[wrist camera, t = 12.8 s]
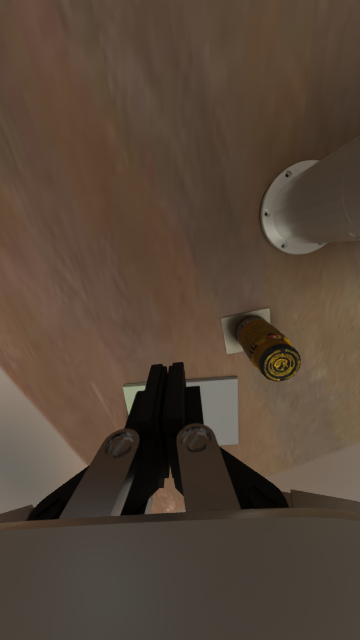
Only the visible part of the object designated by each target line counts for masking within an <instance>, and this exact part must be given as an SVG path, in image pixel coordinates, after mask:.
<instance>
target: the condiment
mask: <svg viewBox="0 0 360 640" xmlns="http://www.w3.org/2000/svg"><path fill="white" fill-rule="evenodd" d="M221 321H222V327H223V333H224V339H225V345H226V351H227V354H232V353H237V352H241V351H245V353H246V354H247V356H248V357H249V359H250V361H251V362H252V364H253V365H254V366H255V367H256V368H257V369H258V370H260V371H261V373H262V374H263V375H264V376H265V377H266V378H267V379H269V380H273V381H284V380H287V379H289V378H291V377H292V376H294V375H295V374H296V373H297V371H298V370H299V368H300V360H301V358H300V355H299V353H298V352H297V351H296V350H295V348H293V346H292V344H291V342H290V341H289V340H288V338H286V337H285V336H284V335H283V334H282V333H280V332H279V331H278V330H277V329H276V328H275V327H273V326H272V325H271V323H270V311H269V308H267V309H262V310H257V311H252V312H247V313H243V314H238V315H233V316H229V317H224V318H221ZM235 341H237V342H235ZM238 342H239V343H238Z"/></svg>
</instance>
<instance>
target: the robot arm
mask: <svg viewBox="0 0 360 640" xmlns="http://www.w3.org/2000/svg"><path fill="white" fill-rule="evenodd" d="M285 175H287V178H286V177H285ZM265 213H267V216H265ZM260 223H261V228H262V231H263V234H264V236H265V237H266V239H267V241H268V242H269V243H270V244H271V245H272V246H273V247H274V248H276V249H277V250H279V251H281V252H283V253H287V254H295V255H299V254H307V253H310V252H313V251H316V250H318V249H320V248H321V247H323V246H324V245H326V244H327V243H330V242H348V241H360V135H358V136H357V137H355V138H354V139H352V140H351V141H349V142H348V143H346V144H344V145H343V146H341V147H340V148H338V149H337V150H335V151H334V152H332V153H331V154H329V155H328V156H326V157H324V158H323V159H321V160H306V161H301V162H298V163H296V164H294V165H291V166H290V167H288V168H287V169H285V170H284V171H283V172H282V173H280V174H279V175H278V176H277V177H276V178H275V179H274V180H273V182H272V183H271V184H270V186H269V187H268V189H267V191H266V193H265V195H264V198H263V200H262V204H261V208H260ZM282 244H283V247H282ZM170 468H171V473H172V478H174V483H175V488H176V489H177V490H178V491H179V492H180V493H181V494H182V495H183V496H184V502H185V509H186V512H180V513H160V514H150V511H151V507H152V501H153V497H152V495H153V494H154V493H155V492H156V491H157V490H158V489H159V488H164V479H165V478H169V471H170ZM0 640H360V502H357V501H353V500H347V499H342V498H336V497H331V496H325V495H319V494H314V493H308V492H303V491H297V490H291V492H290V493H288V492H282V491H280V490H279V489H278V488H277V487H276V486H275V485H274V484H273V483H271V482H270V481H268V480H267V479H265V478H264V477H263V476H261V475H260V474H258V473H257V472H255V471H254V470H253V469H251V468H250V467H248V466H247V465H245V464H244V463H242V462H241V461H240V460H238V459H237V458H235V457H234V456H232V455H231V454H230V453H228V452H227V451H225V450H224V449H222V448H221V447H219V445H218V442H217V439H216V436H215V434H214V432H213V430H212V429H211V428H209V427H208V426H206V425H204V420H203V411H202V402H201V393H200V386H190V387H186V379H185V371H184V364H183V362H177V363H173V366H169V371H168V372H167V367H166V366H164V367H163V365H162V364H156V365H152V366H151V369H150V373H149V376H148V380H147V383H146V387H145V390H143V391H137V393H136V395H135V398H134V401H133V404H132V407H131V410H130V413H129V416H128V419H127V422H126V425H125V428H124V429H121V430H118V431H116V432H114V433H112V434H111V435H109V436H108V437H107V438H106V439H105V441H104V442H103V443H102V445H101V447H100V449H99V450H98V452H97V454H96V455H95V457H94V459H93V461H92V462H91V464H90V465H89V466H88V467H86V468H85V469H84V470H82V471H81V472H80V473H78V474H77V475H75V476H74V477H73V478H71V479H70V480H69V481H67V482H66V483H65V484H63V485H62V486H61V487H59V488H58V489H57V490H55V491H54V492H52V493H51V494H50V495H48V496H47V497H46V498H45V499H43V500H42V501H41V502H40V503H39V504H38V505H37V506H36V507H35V508H34V507H33V505H28V506H25V507H22V508H18V509H15V510H12V511H9V512H5V513H2V514H0Z"/></svg>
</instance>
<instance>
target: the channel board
mask: <svg viewBox="0 0 360 640" xmlns="http://www.w3.org/2000/svg"><path fill="white" fill-rule="evenodd" d="M190 386H200V393H201V402H202V411H203V420H204V425H206V426H208V427H209V428H211V429H212V430H213V432H214V434H215V436H216V439H217V442H218V445H231V444H238V378H237V376H228V377H214V378H201V379H188V380H186V387H190ZM145 387H146V383H134V384H124V386H123V390H124V395H125V400H126V405H127V410H128V415H129V413H130V410H131V407H132V404H133V401H134V398H135V395H136V393H137V391H143V390H145Z"/></svg>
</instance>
